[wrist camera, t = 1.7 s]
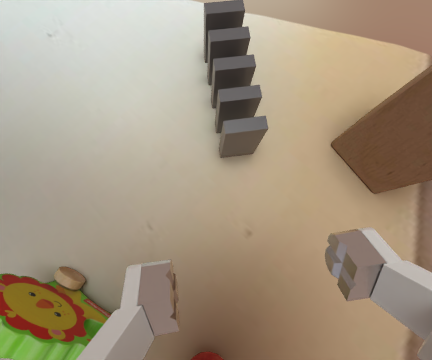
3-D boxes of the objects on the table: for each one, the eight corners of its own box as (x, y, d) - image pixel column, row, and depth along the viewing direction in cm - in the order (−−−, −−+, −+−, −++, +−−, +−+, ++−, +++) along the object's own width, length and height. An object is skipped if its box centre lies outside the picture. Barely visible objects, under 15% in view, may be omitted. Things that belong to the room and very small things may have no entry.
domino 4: (248, 129, 43) (261, 97, 33) (216, 133, 42) (220, 102, 32) (246, 118, 43) (259, 84, 33) (214, 122, 43) (218, 89, 33)
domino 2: (239, 81, 44) (250, 37, 34) (208, 85, 44) (210, 41, 34) (238, 72, 44) (248, 26, 35) (207, 75, 44) (208, 29, 34)
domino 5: (253, 153, 42) (268, 128, 32) (220, 157, 42) (225, 134, 32) (251, 143, 42) (265, 115, 32) (218, 147, 42) (223, 120, 32)
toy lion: (152, 319, 37) (117, 375, 22) (127, 358, 36) (74, 445, 21) (55, 254, 38) (-41, 265, 23) (29, 290, 37) (-89, 326, 22)
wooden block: (373, 195, 41) (525, 159, 22) (328, 144, 43) (434, 67, 23) (418, 156, 43) (598, 89, 23) (373, 108, 44) (508, 7, 25)
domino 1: (235, 59, 45) (244, 10, 35) (205, 62, 45) (205, 14, 35) (234, 50, 45) (242, -1, 35) (203, 53, 45) (203, 2, 35)
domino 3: (244, 104, 43) (255, 66, 34) (212, 108, 43) (215, 70, 33) (242, 94, 44) (253, 54, 34) (211, 98, 43) (213, 58, 34)
